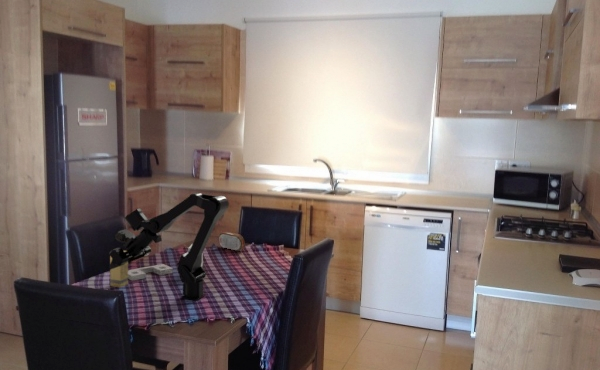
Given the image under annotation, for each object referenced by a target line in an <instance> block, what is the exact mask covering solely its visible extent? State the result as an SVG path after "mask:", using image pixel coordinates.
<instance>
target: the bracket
mask: <svg viewBox="0 0 600 370" xmlns="http://www.w3.org/2000/svg"><path fill="white" fill-rule="evenodd" d="M149 273H154V274H156V275H158V276H163V275H169V274H173V273H174V268H173V267H171V266H169V265H166V264H164V263H161V264H156V265H150V266H145V267H139V268H138V267H137V268H134V269H132V268H131V269H128V281H129V280H130V281H131V282H132V281H133V282H134V281H140V280H144V279H147V277H146V276H147V274H149Z"/></svg>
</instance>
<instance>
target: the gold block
mask: <svg viewBox="0 0 600 370" xmlns="http://www.w3.org/2000/svg"><path fill="white" fill-rule="evenodd" d="M123 251H124V252H126V251H127V250H123ZM111 261H112V257H111V256H110V255H109V265H110V264H111ZM128 268H129V263H128V262H126V263H125V264H124V265H122V266H119V267H116V268H113V269H110V268H109V270H110V271H109V273H110V277H109V282H110V283H109V284H110V287H114V288H123V287H125V286H127V285H128V284H129V279H128V270H129V269H128Z"/></svg>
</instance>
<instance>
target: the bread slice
mask: <svg viewBox="0 0 600 370" xmlns="http://www.w3.org/2000/svg"><path fill="white" fill-rule="evenodd" d="M218 244H219V246H220V247H221V248H222V249H224V248H227V249H226V250H228V249H231V250H230V251H233V250H235V251H234V252H239V251H242V250H244V248H245V245H246V242H245V238H244V237H243V236H242V235H241V234H239V233H237V232H236V233H234V232H230V231H224V232H221V233H220V234H219V235H218Z"/></svg>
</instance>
